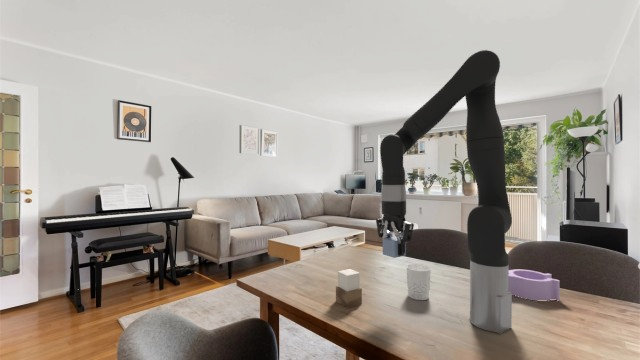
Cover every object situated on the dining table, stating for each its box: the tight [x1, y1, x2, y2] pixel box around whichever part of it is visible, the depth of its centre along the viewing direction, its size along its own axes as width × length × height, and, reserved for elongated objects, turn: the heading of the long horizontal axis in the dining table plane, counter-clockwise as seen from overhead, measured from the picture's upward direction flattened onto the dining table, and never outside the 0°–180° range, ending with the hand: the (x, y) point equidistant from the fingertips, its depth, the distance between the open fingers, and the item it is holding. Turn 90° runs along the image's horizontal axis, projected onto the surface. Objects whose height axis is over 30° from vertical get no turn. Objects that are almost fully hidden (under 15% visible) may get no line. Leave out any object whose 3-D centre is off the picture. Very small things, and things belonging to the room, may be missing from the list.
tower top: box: [337, 268, 361, 292], centre depth 96 cm, size 5×5×5 cm
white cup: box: [406, 263, 432, 301], centre depth 101 cm, size 8×8×10 cm
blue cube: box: [382, 236, 407, 259], centre depth 93 cm, size 5×5×5 cm
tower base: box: [335, 285, 363, 309], centre depth 96 cm, size 6×6×5 cm
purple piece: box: [508, 268, 561, 301], centre depth 104 cm, size 20×12×7 cm, turn 71°
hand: (394, 253), depth 93 cm, fingers closed on blue cube, 5 cm apart
